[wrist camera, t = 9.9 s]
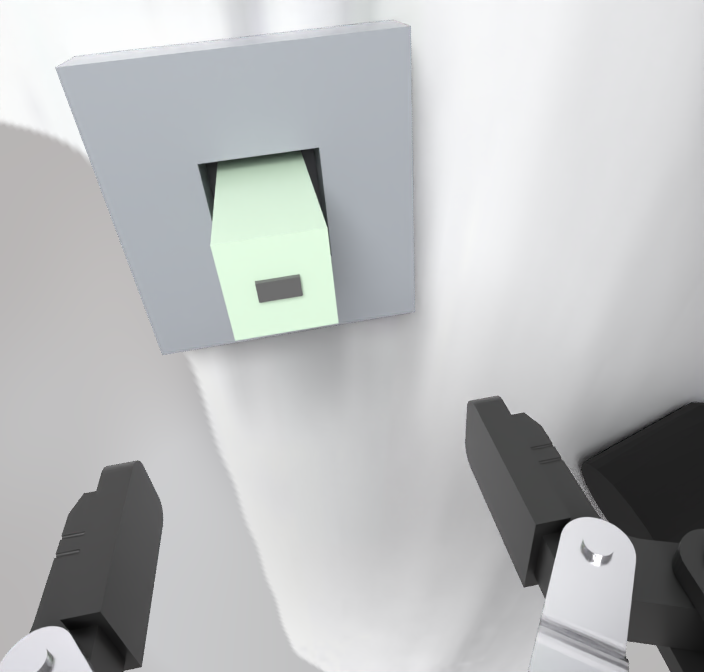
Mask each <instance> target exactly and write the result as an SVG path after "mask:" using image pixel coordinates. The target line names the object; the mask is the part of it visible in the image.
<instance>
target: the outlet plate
mask: <svg viewBox="0 0 704 672" xmlns="http://www.w3.org/2000/svg"><path fill="white" fill-rule="evenodd" d="M55 68H56V71H57V73H58V76H59V79H60V82H61V84H62V87H63V90H64V92H65V95H66V98H67V100H68V103H69V106H70V108H71V111H72V114H73V116H74V119H75V122H76V124H77V127H78V130H79V133H80V135H81V138H82V141H83V143H84V146H85V149H86V151H87V154H88V157H89V159H90V162H91V165H92V167H93V170H94V173H95V175H96V178H97V181H98V184H99V186H100V189H101V192H102V194H103V197H104V199H105V202H106V205H107V208H108V210H109V213H110V216H111V218H112V221H113V224H114V226H115V229H116V232H117V235H118V237H119V240H120V243H121V245H122V248H123V250H124V253H125V256H126V259H127V261H128V264H129V267H130V269H131V272H132V275H133V277H134V280H135V283H136V286H137V288H138V291H139V294H140V296H141V299H142V302H143V304H144V307H145V309H146V312H147V315H148V318H149V320H150V323H151V326H152V328H153V331H154V334H155V336H156V339H157V342H158V345H159V347H160V350H161V353H162V355H166V354H171V353H177V352H184V351H190V350H195V349H201V348H207V347H213V346H219V345H225V344H231V343H236V342H242V341H248V340H254V339H260V338H266V337H271V336H277V335H283V334H289V333H295V332H301V331H307V330H312V329H318V328H324V327H330V326H336V325H342V324H348V323H353V322H359V321H365V320H371V319H377V318H383V317H389V316H394V315H400V314H406V313H412V312H415V284H414V214H413V145H412V76H411V26H409V25H406V24H404V23H401V22H398V21H395V20H387V21H378V22H369V23H361V24H352V25H343V26H335V27H326V28H317V29H308V30H300V31H291V32H282V33H274V34H265V35H256V36H248V37H239V38H230V39H222V40H213V41H204V42H196V43H187V44H178V45H170V46H161V47H152V48H143V49H135V50H126V51H117V52H109V53H100V54H91V55H83V56H74V57H73V58H71V59H69V60H67V61H66V62H64V63H62V64H61V65H59V66H57V67H55ZM297 150H301V153H302V156H303V159H304V162H305V165H306V168H307V171H308V173H309V176H310V179H311V182H312V185H313V188H314V191H315V194H316V196H317V199H318V202H319V205H320V208H321V211H322V214H323V217H324V219H325V222H326V225H327V228H328V237H329V245H330V254H331V263H332V271H333V280H334V288H335V297H336V305H337V314H338V324H332V325H326V326H320V327H314V328H308V329H302V330H296V331H290V332H284V333H279V334H273V335H267V336H261V337H255V338H249V339H243V340H237V341H235V338H234V334H233V330H232V326H231V323H230V319H229V315H228V311H227V307H226V304H225V300H224V296H223V292H222V288H221V285H220V281H219V277H218V273H217V269H216V266H215V262H214V258H213V254H212V250H211V247H210V243H211V231H212V220H213V209H214V198H215V187H216V176H217V164H218V161H224V160H231V159H239V158H246V157H253V156H260V155H268V154H275V153H282V152H290V151H297Z"/></svg>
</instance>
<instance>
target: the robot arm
mask: <svg viewBox="0 0 704 672" xmlns="http://www.w3.org/2000/svg"><path fill="white" fill-rule="evenodd" d="M465 445H466V453H467V457H468V461H469V464H470V467H471V469H472V471H473V474H474V476H475V478H476V480H477V483H478V485H479V487H480V490H481V492H482V494H483V496H484V499H485V501H486V503H487V505H488V508H489V510H490V512H491V514H492V517H493V519H494V521H495V523H496V526H497V528H498V530H499V532H500V535H501V537H502V539H503V542H504V544H505V546H506V548H507V551H508V553H509V555H510V557H511V560H512V562H513V564H514V566H515V569H516V571H517V573H518V575H519V578H520V580H521V582H522V584H523V587H528V586H533V585H538V584H539V587H540V589H541V591H542V593H543V595H544V597H545V603H544V607H543V611H542V615H541V619H540V623H539V628H538V632H537V636H536V640H535V644H534V648H533V653H532V657H531V661H530V665H529V669H528V672H629V661H628V659H626V644H627V641H630V642H637V643H644V644H651V645H656V646H657V647H658V649H659V651H660V653H661V655H662V657H663V658H664V660H665V662H666V664H667V666H668V668H669V670H670V672H704V529H697V530H693V531H691V532H688V533H687V534H686V535H685V536H684V537H683V538H682V540H681V542H680V543H673V542H663V541H654V540H645V539H638V538H634V537H631V536H628V535H626V534H625V533H623V532H622V531H621V530H620V529H619V528H617V527H616V526H615V525H613V524H611V523H609V522H607V521H605V520H602V519H601V518H600V516H599V515H598V514H597V513H596V511H595V510H594V508H593V507H592V505H591V503H590V502H589V500H588V499H587V497H586V496H585V494H584V492H583V491H582V489H581V488H580V486H579V484H578V483H577V481H576V480H575V478H574V477H573V475H572V473H571V472H570V470H569V469H568V467H567V466H566V464H565V462H564V461H562V460H561V456H560V455H559V453H558V451H557V450H556V448H555V447H553V445H552V442H551V440H550V439H549V437H548V436H547V434H546V432H545V431H544V429H543V428H542V426H541V425H539V424H538V423H537V422H536V421H534V420H533V419H532V418H530V417H529V416H528V415H526V414H525V413H519V414H514V415H511V414H510V412H509V410H508V408H507V407H506V405H505V403H504V402H503V400H502V399H501V397H499V396H493V397H488V398H483V399H477V400H472V401H469V402H468V404H467V419H466V439H465ZM162 527H163V511H162V505H161V502H160V499H159V497H158V495H157V493H156V491H155V489H154V487H153V484H152V482H151V480H150V478H149V476H148V474H147V472H146V470H145V468H144V466H143V464H142V463H141V462H140V461H133V462H127V463H122V464H116V465H111V466H106V467H105V468H104V469H103V471H102V473H101V477H100V480H99V484H98V487H97V491H95V492H89V493H84V494H83V496H82V497H81V498H80V499H79V501H78V502H77V504H76V505H75V506H74V508H73V509H72V510H71V512H70V513H69V515H68V518H67V521H66V524H65V527H64V530H63V533H62V540H60V543H59V546H58V549H57V552H56V558H55V559H54V561H53V565H52V568H51V570H50V574H49V577H48V580H47V583H46V586H45V589H44V592H43V595H42V598H41V602H40V605H39V608H38V611H37V614H36V617H35V620H34V623H33V626H32V628H31V631H30V633H29V634H28V635H27V636H25V637H23V638H22V639H21V640H19V641H18V642H17V643H16V644H15V645H14V646H13V647H12V648H11V649H10V650H9V651H8V653H7V654H6V655H5V656H4V658H3V659H2V661H1V663H0V672H123V671H125V670H129V669H134V668H139V667H142V661H143V655H144V648H145V641H146V634H147V627H148V621H149V614H150V608H151V601H152V594H153V588H154V581H155V574H156V566H157V560H158V554H159V547H160V540H161V534H162Z"/></svg>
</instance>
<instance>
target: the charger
mask: <svg viewBox="0 0 704 672" xmlns="http://www.w3.org/2000/svg"><path fill="white" fill-rule="evenodd" d="M210 247H211V250H212V254H213V258H214V262H215V266H216V269H217V273H218V277H219V281H220V285H221V288H222V292H223V296H224V300H225V304H226V307H227V311H228V315H229V319H230V323H231V326H232V330H233V334H234V338H235V341H237V340H243V339H249V338H255V337H261V336H267V335H273V334H279V333H284V332H290V331H296V330H302V329H308V328H314V327H320V326H326V325H332V324H338V314H337V305H336V297H335V288H334V280H333V271H332V263H331V254H330V245H329V237H328V228H327V225H326V222H325V219H324V217H323V214H322V211H321V208H320V205H319V202H318V199H317V196H316V194H315V191H314V188H313V185H312V182H311V179H310V176H309V173H308V171H307V168H306V165H305V162H304V159H303V156H302V153H301V150H297V151H290V152H282V153H275V154H268V155H260V156H253V157H246V158H239V159H231V160H224V161H218V164H217V176H216V187H215V198H214V209H213V220H212V231H211V243H210Z"/></svg>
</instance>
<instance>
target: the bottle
mask: <svg viewBox="0 0 704 672" xmlns="http://www.w3.org/2000/svg"><path fill="white" fill-rule="evenodd" d="M581 470H582V473H583V476H584V479H585V482H586V484H587V486H588V488H589V490H590V492H591V494H592V496H593V498H594V499H595V501H596V503H597V505H598V506H599V508H600V510H601V511H602V513H603V514H604V516H605V517H606V519H607V520H608V522H609V523H611V524H613V525H615V526H616V527H617V528H619V529H620V530H621V531H622V532H623V533H625V534H626V535H628V536H631V537H634V538H638V539H645V540H654V541H663V542H673V543H680V542H681V540H682V538H683V537H684V536H685V535H686V534H687V533H688V532H691V531H693V530H697V529H704V403H690V404H688V405H686V406H684V407H683V408H681V409H679V410H677V411H675V412H674V413H672V414H670V415H668V416H666V417H665V418H663V419H661V420H659V421H657V422H656V423H654V424H652V425H650V426H649V427H647V428H645V429H643V430H641V431H640V432H638V433H636V434H634V435H632V436H631V437H629V438H627V439H625V440H623V441H622V442H620V443H618V444H616V445H614V446H613V447H611V448H609V449H607V450H605V451H604V452H602V453H600V454H598V455H596V456H595V457H593V458H591V459H589V460H587V461H586V462H584V463H583V465H582V469H581Z"/></svg>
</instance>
